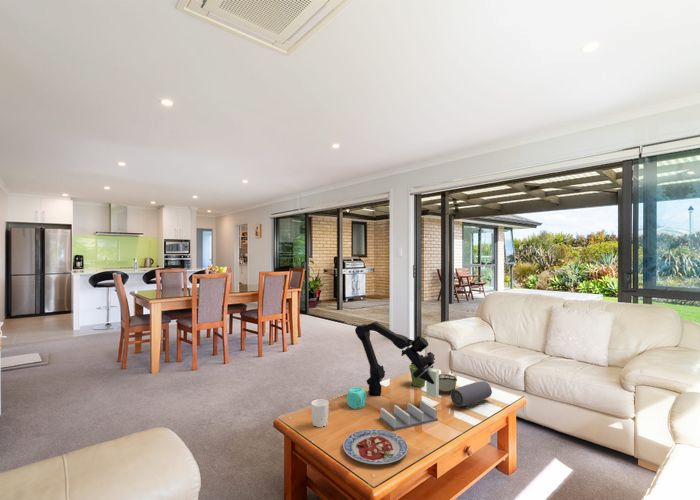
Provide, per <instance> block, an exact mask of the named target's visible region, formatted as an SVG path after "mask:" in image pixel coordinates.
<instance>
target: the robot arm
mask: <svg viewBox="0 0 700 500" xmlns="http://www.w3.org/2000/svg"><path fill="white" fill-rule="evenodd" d="M354 330H355V331H354V332H355V334H356V337H357V338H358V339H359V340H360V341H361V343H362V346H363V349H364V352H365V356H366V358H367V361H368V365H369V375H370V376H369V377H368V378H367V379H366V384H367V385H368V396H369V397H380V396H381V395H382V385H381V382H382V380H383V379H384V378H385V376H386V371H385V369H384V366H383V364H379V362H378V359H377V357H376V353H375V351H374V347H373V344H372V342H371V339H370V338H371V332H370V331H375V332H376V333H378V334H379V335H381V336H383V337H385V338H386V339H388V340H390V341H391V342H392V344H393V345H394V346H395V347H396V348H397V349H399V350H401V357H403V356H406V357H407V358H408V359H409V361H410V364H412V365H413V364H414V366H415V367H416V368H417V369H416V371H415V372H414V373H413V376H414V378H415V379H416V378H417V377H418V376H419V375H420V377H419V378H421V379H423V380H425V382H426V381H427V382H429V383H431V384H434V381H433V380H432V378H431V377H430V375H429V373H428V370H427V369H429V368H433V369H434V364H435V360H436V359H435V354H434V353H433V352H431V351H428V352H427V354H426V355H423V354H420V353H421V352H423V351H424V350H425V349H426V348H428V346H429V341H428V340H427V339H425V337H422V336H421V335H418V336H417V337H415V339H414V340H413V339H410V338H409V337H407V336H406V335H403V334H399V333H397V332H396V333H395V332H394V331H393V330H391V329H389V328H388V327H385V326H384V325H383V324H380V323H379V322H377V321H373V322H371V323H369V324H366V323H362V324H360V325H357V326H356V327H355V329H354Z"/></svg>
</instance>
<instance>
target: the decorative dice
mask: <svg viewBox="0 0 700 500" xmlns="http://www.w3.org/2000/svg"><path fill="white" fill-rule="evenodd" d="M366 402H367V392H366V390H365V389H364V388H362V387H350V388H349V389H348V391H347V395H346V404H347V405H348V407H350V409H356V410H357V409H362V408H364V407H365V405H366Z"/></svg>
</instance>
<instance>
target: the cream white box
mask: <svg viewBox="0 0 700 500" xmlns="http://www.w3.org/2000/svg"><path fill="white" fill-rule="evenodd" d="M427 370H428V373H429V375H430V377H431V378H432V380H433V381H434V384H431V383H429V382H427V381H425V386H426V397H430V398H437V397H438V396H440V395H439V374H440V372H439V371H440V370H439V369H438V368H434V367H433V368H429V369H427Z"/></svg>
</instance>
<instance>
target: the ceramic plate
mask: <svg viewBox="0 0 700 500" xmlns="http://www.w3.org/2000/svg"><path fill="white" fill-rule="evenodd" d="M342 447H343V451H344V452H345V454H347V456H349V457H350V458H352V459H353V460H355V461H358V462H361V463H364V464H369V465H385V464H390V463H394V462H397V461H399V460H401V459H402V458H404V457H405V456H406V454H407V452H408V448H409V446H408V444H407V441H406V440H405V439H404V438H403V437H402V436H400V435H398V434H397V433H394V432H392V431H389V430H386V429H385V430H384V429H378V428H369V429H361V430H358V431H354V432H353V433H351V434H349V435H348V436H347V437H346V438H345V439H344V440H343V442H342Z"/></svg>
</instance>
